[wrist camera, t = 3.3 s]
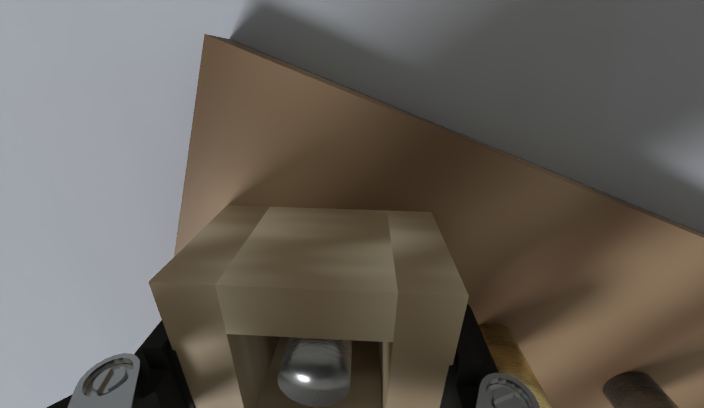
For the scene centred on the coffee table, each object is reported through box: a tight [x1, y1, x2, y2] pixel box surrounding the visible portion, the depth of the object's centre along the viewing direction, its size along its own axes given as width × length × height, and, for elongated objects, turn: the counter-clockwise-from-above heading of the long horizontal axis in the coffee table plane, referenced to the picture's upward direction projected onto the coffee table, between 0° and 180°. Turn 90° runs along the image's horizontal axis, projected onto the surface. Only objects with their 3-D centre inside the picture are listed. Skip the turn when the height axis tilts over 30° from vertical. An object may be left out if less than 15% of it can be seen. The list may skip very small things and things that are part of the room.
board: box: [174, 34, 704, 408], centre depth 11 cm, size 26×14×5 cm, turn 69°
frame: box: [149, 205, 469, 408], centre depth 10 cm, size 7×7×4 cm
